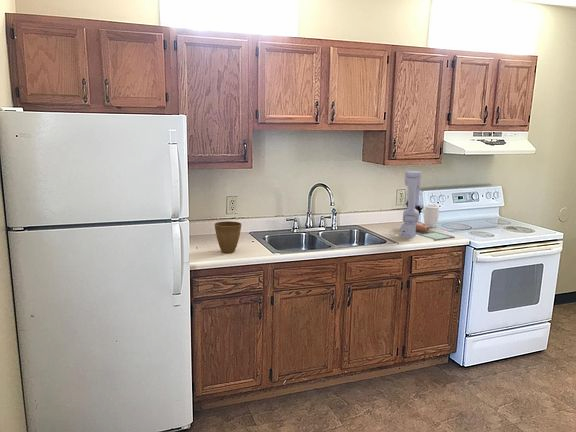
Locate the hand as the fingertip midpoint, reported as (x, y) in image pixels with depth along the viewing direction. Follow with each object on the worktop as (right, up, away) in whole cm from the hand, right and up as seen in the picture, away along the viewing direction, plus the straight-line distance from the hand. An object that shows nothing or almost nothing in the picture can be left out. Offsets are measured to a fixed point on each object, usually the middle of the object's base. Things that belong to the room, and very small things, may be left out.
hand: (413, 213), depth 335 cm
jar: (+15, -9, +12) cm, 21 cm away
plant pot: (-121, -22, -64) cm, 139 cm away
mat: (+6, -14, -12) cm, 19 cm away
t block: (+3, -12, -7) cm, 14 cm away
